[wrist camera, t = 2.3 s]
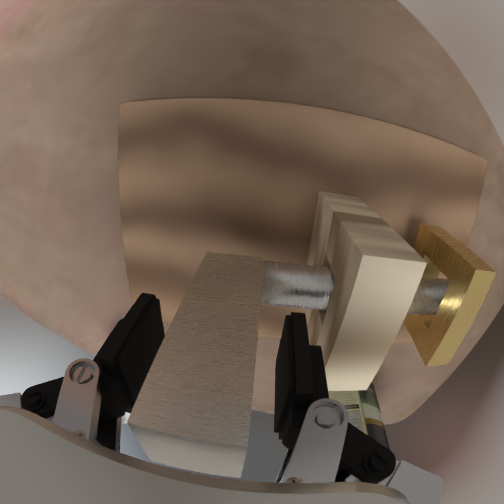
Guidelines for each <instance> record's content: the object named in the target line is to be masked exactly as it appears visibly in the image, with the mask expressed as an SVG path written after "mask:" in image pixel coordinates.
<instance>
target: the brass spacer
mask: <svg viewBox="0 0 504 504" xmlns="http://www.w3.org/2000/svg"><path fill="white" fill-rule="evenodd" d="M413 249H414V250H415V251H416V252H417V253H418V254H419V255H420V256H421V257H422V258H423V259H424V260H425V261H426V262H427V264H426V267H425V270H424V273H423V275H422V277H433V278H438V275H439V273H440V271H441V272H442V273H443V274H444V275H445V276H446V277H447V278H448V280H449V281H450V283H449V286H448V288H447V290H446V293H445V295H444V297H443V300H442V302H441V304H440V306H439V308H438V310H437V312H436V315H408V314H406V317H405V319H404V321H403V322H404V324H405V326H406V328H407V330H408V332H409V334H410V335H411V337H412V339H413V341H414V343H415V345H416V347H417V349H418V351H419V353H420V355H421V357H422V359H423V361H424V364H425V366H426V367H427V366H436V365H444V364H448V362H449V361H450V359H451V358H452V356H453V355H454V353H455V352H456V350H457V348H458V347H459V345H460V343H461V342H462V340H463V338H464V337H465V335H466V333H467V332H468V330H469V328H470V326H471V324H472V322H473V321H474V319H475V317H476V315H477V313H478V311H479V309H480V307H481V305H482V303H483V301H484V299H485V297H486V294H487V292H488V290H489V288H490V286H491V283H492V281H493V279H494V276H495V274H496V272H495V271H494V270H493V269H492V268H491V267H490V266H489V265H488V264H486V263H485V262H484V261H483V260H482V259H481V258H479V257H478V256H477V255H476V254H475V253H473V252H472V251H471V250H470V249H469V248H467V247H466V246H465V245H464V244H462V243H461V242H460V241H458V240H457V239H456V238H455V237H453V236H452V235H451V234H449V233H448V232H447V231H445V230H444V229H443V228H441V227H438V226H433V225H428V224H423V223H421V224H420V228H419V231H418V235H417V238H416V242H415V245H414V248H413Z"/></svg>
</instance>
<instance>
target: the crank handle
mask: <svg viewBox="0 0 504 504" xmlns="http://www.w3.org/2000/svg"><path fill="white" fill-rule="evenodd" d="M334 282H335V277H334V274H333V272H332V269H331V267H322V266H312V265H302V264H293V263H283V262H274V261H265V260H264V258H262V257H253V256H244V255H235V254H225V253H216V252H206V254H205V256H204V258H203V260H202V262H201V264H200V266H199V268H198V270H197V272H196V274H195V276H194V277H193V279H192V281H191V283H190V285H189V287H188V289H187V292H186V294H185V296H184V298H183V300H182V302H181V304H180V306H179V308H178V310H177V312H176V314H175V316H174V318H173V320H172V322H171V324H170V327H169V329H168V331H167V333H166V335H165V337H164V339H163V341H162V344H161V346H160V348H159V350H158V352H157V354H156V357H155V359H154V361H153V363H152V365H151V368H150V370H149V372H148V374H147V377H146V379H145V381H144V383H143V386H142V388H141V390H140V392H139V395H138V397H137V399H136V402H135V404H134V406H133V409H132V411H131V414H130V416H129V418H128V421H127V423H128V425H129V427H130V428H131V430H132V432H133V433H134V435H135V437H136V438H137V440H138V442H139V443H140V445H141V446H142V448H143V449H144V451H145V452H146V454H147V455H148V457H149V458H150V460H151V461H154V462H158V463H161V464H165V465H169V466H173V467H178V468H182V469H186V470H192V471H197V472H202V473H208V474H214V475H221V476H228V477H237V478H240V477H241V474H242V470H243V465H244V460H245V455H246V451H247V444H248V435H249V424H250V415H251V405H252V394H253V383H254V372H255V361H256V350H257V339H258V327H259V315H260V305H269V306H279V307H289V308H301V309H313V310H326V311H327V308H328V304H329V301H330V297H331V293H332V290H333V286H334ZM449 283H450V281H449V280H448V279H444V278H433V277H422V278H421V281H420V283H419V286H418V288H417V291H416V293H415V296H414V298H413V301H412V303H411V305H410V308H409V310H408V312H407V314H408V315H436V312H437V310H438V308H439V306H440V304H441V302H442V300H443V297H444V295H445V293H446V290H447V288H448V286H449Z"/></svg>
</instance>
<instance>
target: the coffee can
mask: <svg viewBox="0 0 504 504" xmlns="http://www.w3.org/2000/svg"><path fill="white" fill-rule="evenodd" d="M328 393H329V399H333V400H336V401H338V402H340V403H341V404H343V405H344V406H345V408H346V409H347V411H348V414H349V420H348V422H349V423H351V424H352V425H353V426H355V427H356V428H358V429H359V430H361V431H362V432H364V433H365V434H367V435H368V436H370V437H371V438H373V439H374V440H376V441H377V442H379V443H380V444H382V445H383V446H385V447H386V448H388V449H389V450H390V448H389V444H388V440H387V435H386V431H385V427H384V423H383V419H382V415H381V411H380V408H379V404H378V400H377V396H376V393H375V389H374V386H373V382H371V383H370V385H369V387H368V388H367V390H354V391H328Z"/></svg>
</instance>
